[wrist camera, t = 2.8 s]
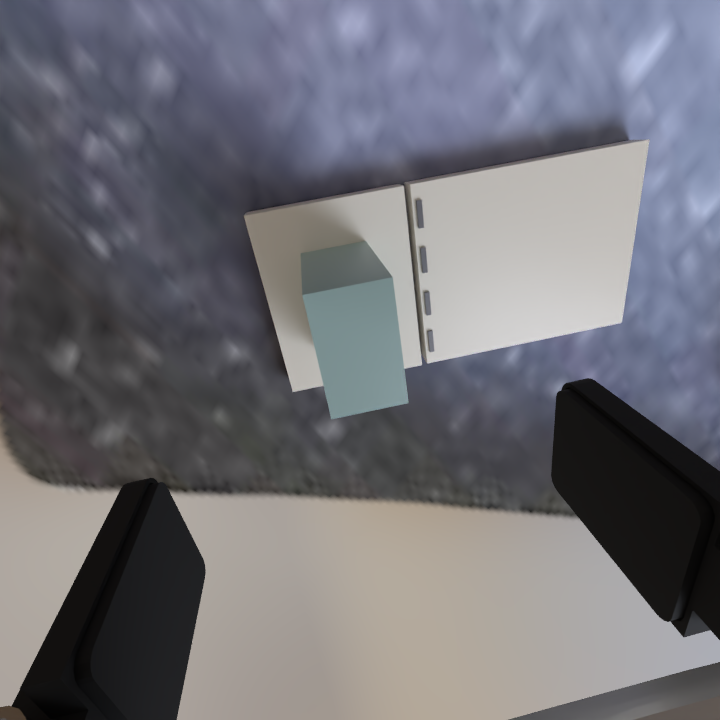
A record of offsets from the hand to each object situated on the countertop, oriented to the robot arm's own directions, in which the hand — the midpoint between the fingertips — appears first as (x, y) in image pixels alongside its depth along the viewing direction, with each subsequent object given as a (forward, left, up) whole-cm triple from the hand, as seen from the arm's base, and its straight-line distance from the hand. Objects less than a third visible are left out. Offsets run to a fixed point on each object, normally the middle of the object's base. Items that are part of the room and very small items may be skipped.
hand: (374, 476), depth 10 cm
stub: (0, +1, -13) cm, 13 cm away
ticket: (0, +10, -13) cm, 16 cm away
